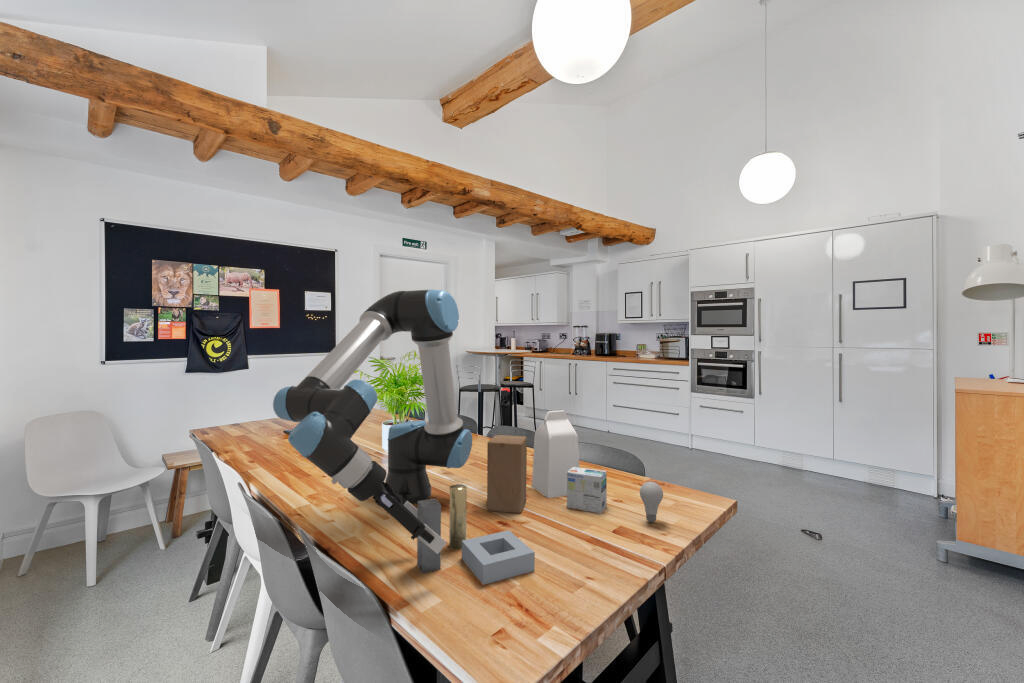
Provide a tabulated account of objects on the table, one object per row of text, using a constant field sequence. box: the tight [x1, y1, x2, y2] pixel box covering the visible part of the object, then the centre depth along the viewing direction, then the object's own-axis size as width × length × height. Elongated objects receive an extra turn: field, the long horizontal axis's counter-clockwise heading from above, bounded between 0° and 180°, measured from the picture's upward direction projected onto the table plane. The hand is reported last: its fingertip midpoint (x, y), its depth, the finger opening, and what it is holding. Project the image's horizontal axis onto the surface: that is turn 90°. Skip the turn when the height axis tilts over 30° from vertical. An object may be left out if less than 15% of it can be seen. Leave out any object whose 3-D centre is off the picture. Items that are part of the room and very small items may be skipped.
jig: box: [461, 529, 536, 586], centre depth 96 cm, size 12×12×4 cm
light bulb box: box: [566, 467, 608, 514], centre depth 129 cm, size 11×7×11 cm, turn 65°
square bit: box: [416, 498, 442, 574], centre depth 95 cm, size 4×4×14 cm
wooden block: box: [486, 434, 528, 514], centre depth 130 cm, size 10×10×20 cm
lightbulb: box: [639, 481, 664, 524], centre depth 119 cm, size 6×6×11 cm
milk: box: [531, 410, 580, 499], centre depth 144 cm, size 12×12×26 cm
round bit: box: [448, 484, 468, 550], centre depth 105 cm, size 4×4×14 cm
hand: (431, 534), depth 94 cm, fingers open, 13 cm apart
